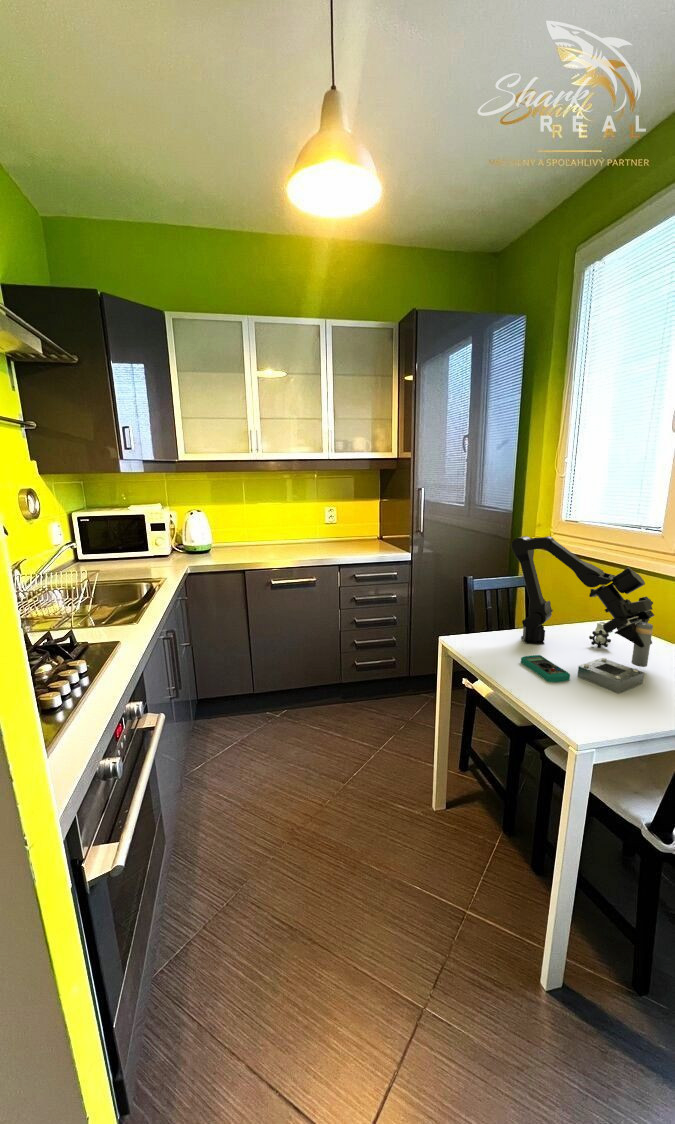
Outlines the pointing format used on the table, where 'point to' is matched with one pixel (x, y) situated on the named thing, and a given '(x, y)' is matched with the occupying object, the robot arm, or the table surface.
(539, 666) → the digital multimeter
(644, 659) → the plug
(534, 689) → the table surface
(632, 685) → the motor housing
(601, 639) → the valve
